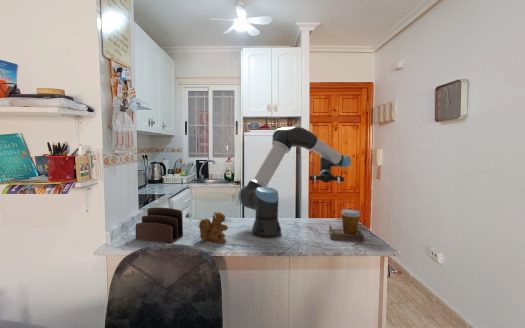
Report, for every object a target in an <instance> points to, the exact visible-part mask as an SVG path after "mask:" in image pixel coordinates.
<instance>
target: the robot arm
mask: <svg viewBox="0 0 525 328" xmlns="http://www.w3.org/2000/svg"><path fill="white" fill-rule="evenodd" d="M271 138H272V142H271V145H272V147H271V148H270V151H269V152H268V154H267V156H266V157H265V158H264V161H263V163H262V164H261V166H260V167H259V170H257V173H256V174H255V176H254V178H253V179H251V180H249V181H248V183H247V184H246V185H244V186H242V187H241V188H240V189H239V191H238V195H237V196H238V197H237V198H238V201H239V203H240V205H242V206H244V207H245V208H246V209H250V210H254V211H255V219H254V222H253V225H252V228H251V234H252V236H254V237H257V238H261V239H262V238H263V239H273V238H278V237H280V236H281V235H282V228H281V223H280V222H279V199H280V198H279V192H278V190H277V189H275V188H273V187H268V186H269V184H270V182H271V180H272V178H273V176H274V174H275V172H276V171H277V169H278V167H279V165H281V162H282V160H283V158H284V157H285V155H286V154H288V153H289V152H290V151H291V149H292V148H294V147H297V148H298V147H299V148H303V149H306V150H307V151H308V150H311V151H312V152H314V153H315V154H317V155H319V156H320V157H319V158H320V162H319V165H320V166H319V175H318V174H314V175H310V176H309V181H312V182H314V183H316V181H321V182H322V183H324V184H325V183H326V184H327V183H329V182H331V181H336V182H337V183H338V184H340V183H341V182H343V183H344V181H345V177H344V176H342V175H333V174H332V167H335V168H337V167H338V168H348V167H350V166H351V164H352V159H351V157H350V156H349V155H347V154H346V155H344V154H342V153H340V152H339V151H337V150H335V149H334V148H333V147H331V146H329V145H328V144H327V143H325V142H324V141H322V140H320V139H319V138H318V136H317V135H316V134H314V133H313V132H312V131H310V130H308V129H307V128H304V127H302V126H286V127H285V126H283V127H279V128H277V129H275V130H274V132H273V133H272V136H271Z"/></svg>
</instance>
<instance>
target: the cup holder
mask: <svg viewBox="0 0 525 328" xmlns="http://www.w3.org/2000/svg"><path fill="white" fill-rule="evenodd" d="M328 231H329V236H330V237H329V238H330V240H336V241H337V240H340V241H352V242H364V239H365V238H364V234H363V233H362V230H361V228H360V227H358V228H357V234H356V235H349V234H344V232H343V228H342V229H341V228H333V227H332V225H329V226H328Z"/></svg>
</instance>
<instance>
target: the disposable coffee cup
mask: <svg viewBox="0 0 525 328" xmlns="http://www.w3.org/2000/svg"><path fill="white" fill-rule="evenodd" d="M360 212H361V211H360V210H357V209H351V208H344V209H342V210H341V212H340V214H341V220H342V221H341V222H342V229H343V232H344V234H349V235H356V234H357V228H359V227H358V226H359V220H360V216H361V213H360Z"/></svg>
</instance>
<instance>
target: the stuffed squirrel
mask: <svg viewBox="0 0 525 328" xmlns="http://www.w3.org/2000/svg"><path fill="white" fill-rule="evenodd" d="M222 223H223V224H222ZM224 223H226V215H225V214H223V213H222V212H219V211H218V212H216V211H215V212H213V215H212V221H211V220H210V219H208V218H206V219H201V220H200V221H199V224H198V228H199V233H200V235H199V238H200V239H201V240H202V241H203V242H209V241H211V242H212V243H214V244H225V243H226V242H227V239H226V238H225V236H226V234H225V233H224V232H225V231H227V230H228V228H229V227H228V225H226V224H224Z"/></svg>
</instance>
